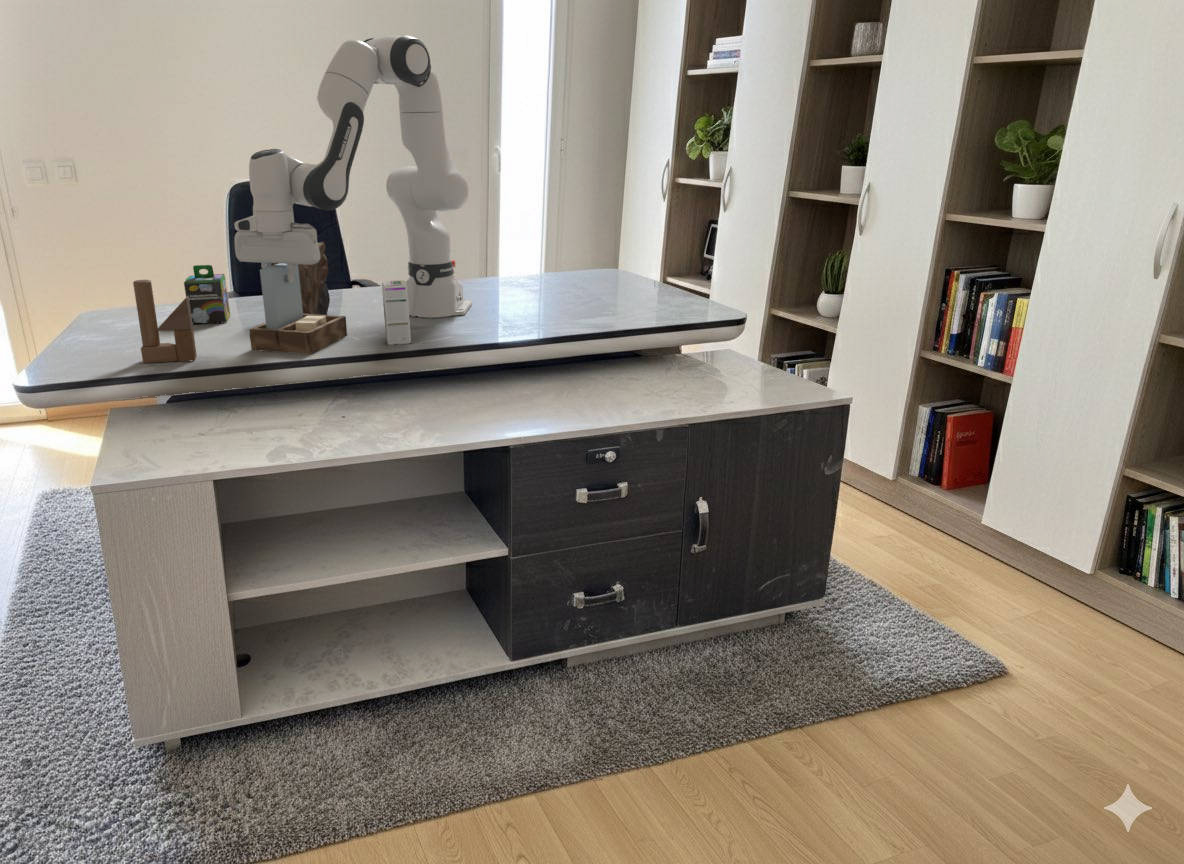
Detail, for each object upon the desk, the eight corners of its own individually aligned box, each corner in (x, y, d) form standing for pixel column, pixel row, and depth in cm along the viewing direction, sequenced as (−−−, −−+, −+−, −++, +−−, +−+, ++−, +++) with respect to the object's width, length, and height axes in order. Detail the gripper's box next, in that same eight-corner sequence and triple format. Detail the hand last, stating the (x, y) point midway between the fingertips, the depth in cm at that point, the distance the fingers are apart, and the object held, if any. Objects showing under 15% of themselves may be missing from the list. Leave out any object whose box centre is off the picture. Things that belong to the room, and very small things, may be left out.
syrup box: (411, 343, 225) (408, 284, 220) (386, 345, 223) (383, 285, 218) (409, 338, 230) (406, 280, 225) (384, 339, 228) (381, 280, 223)
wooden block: (195, 361, 208) (184, 281, 202) (142, 363, 205) (130, 282, 199) (197, 357, 211) (186, 278, 205) (145, 359, 208) (133, 279, 202)
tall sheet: (292, 321, 230) (286, 261, 225) (303, 322, 229) (297, 261, 224) (267, 333, 219) (259, 269, 214) (278, 333, 218) (271, 270, 213)
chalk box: (230, 316, 251) (224, 261, 246) (226, 323, 243) (219, 266, 238) (194, 317, 249) (187, 262, 244) (188, 325, 241) (181, 267, 236)
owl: (272, 320, 247) (264, 244, 240) (301, 310, 258) (294, 238, 252) (312, 324, 243) (305, 247, 236) (340, 314, 254) (334, 240, 248)
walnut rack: (291, 332, 234) (289, 312, 233) (347, 335, 231) (345, 316, 230) (251, 349, 217) (249, 329, 216) (311, 354, 214) (309, 333, 213)
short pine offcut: (308, 323, 226) (307, 315, 226) (326, 324, 226) (325, 316, 225) (296, 331, 219) (295, 322, 218) (315, 331, 218) (314, 323, 218)
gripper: (322, 222, 217) (327, 281, 221) (242, 219, 221) (249, 277, 225) (308, 225, 211) (314, 286, 215) (227, 222, 215) (235, 282, 220)
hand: (280, 281), depth 220 cm, fingers closed on tall sheet, 3 cm apart
